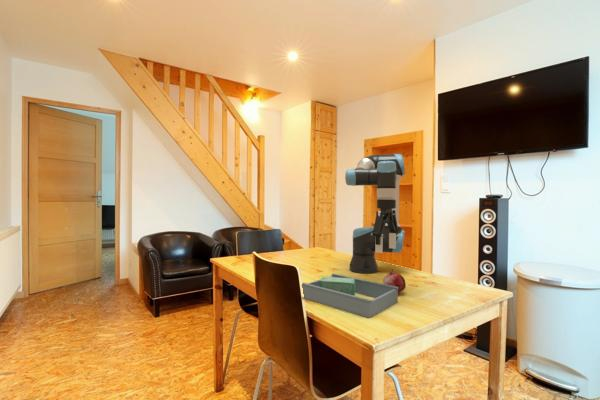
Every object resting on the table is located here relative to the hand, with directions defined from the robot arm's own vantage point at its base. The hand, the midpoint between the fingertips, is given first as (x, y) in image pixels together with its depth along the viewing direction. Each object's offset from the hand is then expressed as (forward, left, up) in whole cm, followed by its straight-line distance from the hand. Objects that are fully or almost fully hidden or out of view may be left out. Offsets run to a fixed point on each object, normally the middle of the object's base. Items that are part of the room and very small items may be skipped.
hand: (385, 250), depth 129 cm
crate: (+17, -7, -18) cm, 25 cm away
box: (+17, -12, -18) cm, 28 cm away
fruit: (-3, +2, -18) cm, 19 cm away
